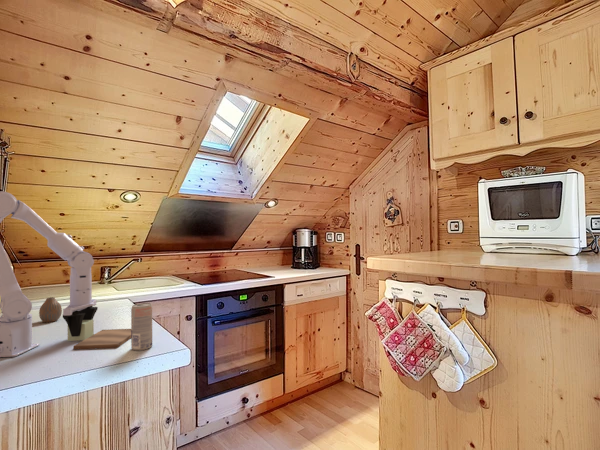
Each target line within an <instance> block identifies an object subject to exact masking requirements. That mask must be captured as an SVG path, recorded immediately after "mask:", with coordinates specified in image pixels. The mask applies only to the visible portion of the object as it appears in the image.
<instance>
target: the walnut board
mask: <svg viewBox="0 0 600 450" xmlns="http://www.w3.org/2000/svg"><path fill="white" fill-rule="evenodd" d="M130 339H131V328H116V329H113V328H111V329H101V330H100V331H97V332H96V333H94V335H92V336H90V337H88V338H87V339H85V340H80V342H78V343H76V344H74V345H73V348H72V349H73V350H92V349H95V348H97V349H116V348H117V349H118V348H120V347H121V346H122V345H123V344H125V343H127V342H128V341H129V340H130ZM95 350H96V349H95Z"/></svg>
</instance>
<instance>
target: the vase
mask: <svg viewBox="0 0 600 450" xmlns="http://www.w3.org/2000/svg"><path fill="white" fill-rule="evenodd" d="M62 314H63V309H62V305H61V303H60V302H58V300H57V299H56V297H51V296H50V297H46V299H45V301H44V302H43V303H42V304H41V305H40V307H39V311H38V316H39V319H40V321H42V322H43V323H53V322H57V321H58V320H59V319H60V318H61V316H62Z"/></svg>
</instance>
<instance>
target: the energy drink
mask: <svg viewBox="0 0 600 450" xmlns="http://www.w3.org/2000/svg"><path fill="white" fill-rule="evenodd" d="M130 309H131V311H130V312H131V315H130V317H131V318H130V319H131V320H130V321H131V323H130V325H131V327H130V329H131V341H130V342H131V347H130V348H131V350H132V351H134V350H135V352H140V351H139V350H141V351H146V350H149V349H151V348H152V347H153V306H152V303H150V302H149V303H148V302H143V303H136V304H132V305H131V308H130ZM150 347H151V348H150ZM148 348H149V349H148ZM145 349H146V350H145Z"/></svg>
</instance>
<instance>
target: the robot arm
mask: <svg viewBox="0 0 600 450" xmlns="http://www.w3.org/2000/svg"><path fill="white" fill-rule="evenodd" d="M9 215H11V216H10V218H11V219H15V220H17V221H18V220H19V221H22V222H24V223H25V224H27V225H28V226H29V227H31V228H32V230H33V229H34V231H36V232H37V233H38V234H39V235H41V236H42V237H43V238H45V239H46V240H47V244H46V245H47V247H48V248H49V249H50V250H52V251H53V252H54V253H55V254H56V255H57V256H59V257H60V258H61V259H62V260H64V261H67V265H68V266H69V267H70V274H69V305H67V306H66V307H65V308H63V309H62V318H63V320H64V321H65V322H66V324H67V328H68V327H69V330H70V333H71V336H72V337H74V336H80V333H81V325H82V321H83V320H94V317H95V314H96V313H97V311H98V306H96V305H97V299H92V297H93V296H92V292H93V291H92V288H93V287H92V286H93V285H92V284H93V283H92V282H93V281H92V280H93V279H92V278H93V277H92V274H93V273H92V267H93V265H94V264H95V259H94V258H93V257H94V256H92V254H91V253H89V252H87V251H84V249H85V247H84V246H83V245H81V246H80V245H79V244H78V243H77V242H75V241H74V240H73V236H72V235H71V234H66V233H65V232H58V231H56V230H55V229H54V228H53V227H52V226H50V224H49V223H47V222H46V221H45V220H44V219H43V218H42V217H41V216H40V215H38V213H37V212H35V210H33V209H32V208H31V207H30V206H28V205H27V204H26V203H25V202H23V201H21V200H19V199H18V200H17V198H16V197H15V195H13V194H12V193H11V192H8V191H2V190H1V191H0V224H1V223H2V222H3V221H4V219H5V218H6V217H8V216H9ZM32 308H33V304H32V301H31V300H30V299H29V298H28V297H27V295H25V294H24V293H23V291H22V289H21V286H20V285H19V283H18V280H17V278H16V275H15V272H14V270H13V268H12V266H11V262H10V261H9V258H8V256H7V253H6V252H5V249H4V245H3V243H2V241H1V240H0V310H1V313H2V315H1V316H0V358H9V357H11V358H12V357H13V358H14V357H17V356H19V355H21V354H24V353H26V352H28V351H30V350H32V349H34V348H36V347H37V348H38V346H40V345H41V344H40V343H39V342H38V343H33V314H32V313H31V311H32Z"/></svg>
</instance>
